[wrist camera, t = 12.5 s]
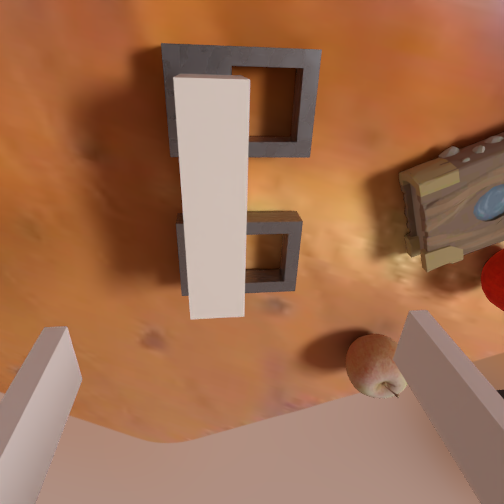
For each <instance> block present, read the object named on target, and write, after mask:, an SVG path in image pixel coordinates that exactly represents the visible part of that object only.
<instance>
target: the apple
mask: <svg viewBox="0 0 504 504" xmlns="http://www.w3.org/2000/svg"><path fill="white" fill-rule="evenodd" d="M481 284H482V289H483V291H484V293H485V295H486V297H487V299H488V300H489V301H490V302H491V303H493V304H494V305H495V306H497V307H498V308H500V309H501V310H503V311H504V249H502V250H500V251H499V252H497V253H495V254H494V255H493V256H492V257H491V258H490V259H489V260H488V261H487V262H486V263H485V265H484V267H483V269H482V274H481Z"/></svg>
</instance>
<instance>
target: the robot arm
mask: <svg viewBox="0 0 504 504" xmlns="http://www.w3.org/2000/svg"><path fill="white" fill-rule="evenodd" d="M393 361H394V362H395V364H396V366H397V367H398V369H399V371H400V372H401V374H402V375H403V377H404V379H405V380H406V382H407V384H408V385H409V387H410V388H411V390H412V391H413V393H414V395H415V397H416V398H417V400H418V401H419V403H420V405H421V406H422V408H423V410H424V411H425V413H426V415H427V416H428V418H429V420H430V421H431V423H432V424H433V426H434V428H435V429H436V431H437V432H438V434H439V436H440V437H441V439H442V441H443V442H444V444H445V446H446V447H447V449H448V451H449V452H450V454H451V455H452V457H453V459H454V460H455V462H456V463H457V465H458V467H459V468H460V470H461V472H462V473H463V475H464V477H465V478H466V480H467V482H468V483H469V485H470V487H471V488H472V490H473V491H474V493H475V495H476V496H477V498H478V500H479V501H480V503H481V504H504V390H495V389H494V387H493V386H492V385H491V384H490V383H489V382H488V380H487V379H486V378H485V377H484V376H483V375H482V373H481V372H480V371H479V370H478V369H477V368H476V366H475V365H474V364H473V363H472V362H471V361H470V360H469V358H468V357H467V356H466V355H465V354H464V353H463V351H462V350H461V349H460V348H459V347H458V346H457V344H456V343H455V342H454V341H453V340H452V339H451V338H450V336H449V335H448V334H447V333H446V332H445V331H444V329H443V328H442V327H441V326H440V325H439V324H438V322H437V321H436V320H435V319H434V318H433V317H432V315H431V314H430V313H429V312H428V311H427V310H417V311H409V313H408V316H407V319H406V322H405V325H404V328H403V331H402V334H401V337H400V340H399V342H398V345H397V348H396V351H395V354H394V357H393ZM81 381H82V376H81V373H80V369H79V366H78V362H77V359H76V355H75V352H74V349H73V345H72V342H71V338H70V335H69V332H68V328H67V326H63V327H44V329H43V330H42V332H41V334H40V335H39V337H38V339H37V341H36V342H35V344H34V346H33V347H32V349H31V351H30V353H29V354H28V356H27V358H26V359H25V361H24V363H23V364H22V366H21V368H20V370H19V371H18V373H17V375H16V376H15V378H14V380H13V381H12V383H11V385H10V387H9V388H8V390H7V392H6V393H5V395H4V397H3V399H2V400H1V402H0V504H35V503H36V501H37V498H38V495H39V493H40V490H41V487H42V485H43V482H44V479H45V477H46V474H47V472H48V469H49V466H50V464H51V461H52V458H53V456H54V452H55V450H56V448H57V445H58V442H59V440H60V437H61V434H62V432H63V429H64V427H65V424H66V421H67V418H68V416H69V413H70V411H71V408H72V405H73V403H74V400H75V397H76V395H77V392H78V389H79V387H80V384H81Z"/></svg>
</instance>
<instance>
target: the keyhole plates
mask: <svg viewBox="0 0 504 504" xmlns="http://www.w3.org/2000/svg"><path fill="white" fill-rule="evenodd" d="M161 48H162V60H163V72H164V85H165V97H166V109H167V121H168V133H169V145H170V157H179V151H178V137H177V123H176V109H175V95H174V81H173V77H175V76H177V75H179V74H210V75H232V66H255V67H285V68H296V77H295V89H294V101H293V113H292V125H291V137H280V136H249V146H248V157H310V151H311V142H312V133H313V124H314V115H315V106H316V97H317V88H318V79H319V70H320V60H321V51H322V50H314V49H290V48H265V47H240V46H215V45H190V44H165V43H161ZM302 223H303V221H302V219H301V218H300V216H299V214H298V213H297V211H287V212H247V226H246V235H252V234H283V236H282V248H281V260H280V269H262V270H245V293H260V292H283V291H295V286H296V277H297V268H298V259H299V250H300V241H301V232H302ZM176 231H177V243H178V255H179V267H180V279H181V291H182V296H189V292H188V278H187V264H186V250H185V236H184V221H183V213H178V215H177V221H176Z"/></svg>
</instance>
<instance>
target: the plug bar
mask: <svg viewBox="0 0 504 504" xmlns="http://www.w3.org/2000/svg"><path fill="white" fill-rule="evenodd" d="M173 81H174V95H175V109H176V123H177V137H178V151H179V165H180V179H181V193H182V207H183V221H184V236H185V250H186V264H187V278H188V292H189V306H190V319H206V318H225V317H244V307H245V266H246V226H247V186H248V146H249V106H250V79H248V78H246V77H243V76H241V75H210V74H179V75H177V76H175V77H173Z"/></svg>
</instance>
